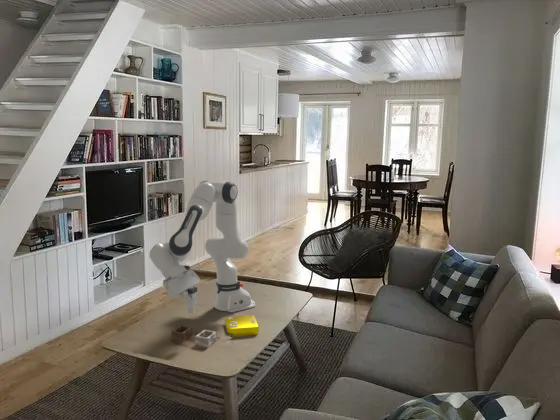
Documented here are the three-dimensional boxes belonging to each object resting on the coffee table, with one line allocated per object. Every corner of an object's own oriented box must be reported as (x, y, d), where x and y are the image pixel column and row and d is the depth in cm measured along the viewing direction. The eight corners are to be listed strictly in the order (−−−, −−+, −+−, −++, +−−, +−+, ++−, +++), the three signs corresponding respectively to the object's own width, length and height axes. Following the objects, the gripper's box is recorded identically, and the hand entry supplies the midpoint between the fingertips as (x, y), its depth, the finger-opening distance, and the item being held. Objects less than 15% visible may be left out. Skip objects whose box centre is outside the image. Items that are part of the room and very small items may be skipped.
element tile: (259, 335, 224) (259, 325, 224) (228, 338, 221) (227, 328, 220) (253, 322, 239) (253, 313, 238) (224, 325, 235) (224, 316, 235)
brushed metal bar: (193, 309, 215) (192, 286, 213) (197, 310, 214) (197, 287, 212) (188, 312, 211) (187, 289, 209) (192, 313, 210) (192, 289, 208)
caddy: (184, 333, 225) (184, 322, 224) (220, 340, 218) (220, 329, 217) (166, 345, 212) (166, 334, 211) (204, 353, 205) (204, 341, 204)
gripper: (164, 277, 202) (184, 301, 200) (191, 264, 221) (209, 287, 219) (156, 285, 205) (176, 310, 203) (183, 272, 223) (201, 294, 221)
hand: (193, 298), depth 211 cm, fingers closed on brushed metal bar, 4 cm apart
